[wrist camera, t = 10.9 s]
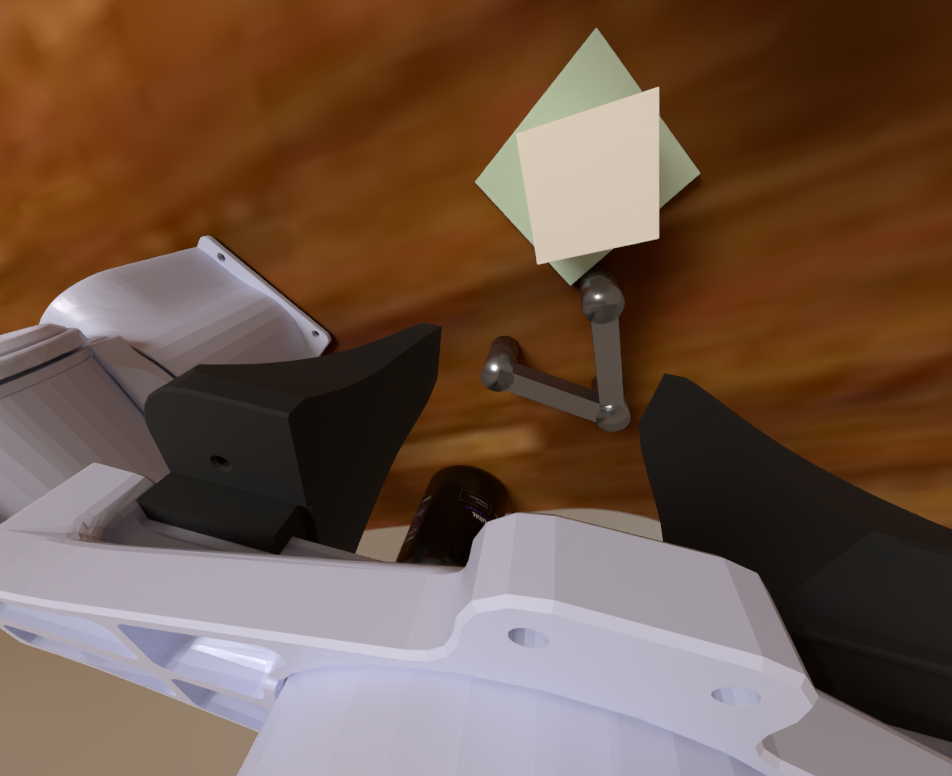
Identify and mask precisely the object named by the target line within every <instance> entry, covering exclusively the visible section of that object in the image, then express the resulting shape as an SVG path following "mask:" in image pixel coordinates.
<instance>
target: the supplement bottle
mask: <svg viewBox="0 0 952 776" xmlns="http://www.w3.org/2000/svg"><path fill="white" fill-rule="evenodd" d="M505 510H506V496H505V493H504V490H503V489H502V487H501V485H500V484H499V483H498V482H497V481H496V480H495V479H494V478H493V477H492V476H491V475H489V474H488V473H486V472H484V471H482V470H480V469H477V468H474V467H470V466H462V465H457V466H450V467H446V468H444V469H442V470H440V471H438V472H437V473H436V474H435V475H434V476H433V477H432V478H431V480H430V482H429V484H428V486H427V488H426V491H425V493H424V495H423V498H422V500H421V502H420V505H419V507H418V509H417V512H416V514H415V516H414V519H413V521H412V524H411V526H410V528H409V531H408V533H407V535H406V538H405V540H404V542H403V545H402V547H401V550H400V552H399V554H398V557H397V559H396V561H395V562H397V563H412V564H428V565H443V566H458V567H466V565H467V563H468V561H469V557H470V552H471V548H472V543H473V540H474V538H475V537H476V536H477V534H478V533H479V532H480V530H481V529H482V528H483V527H484V525H485V524H486V523H487V522H489V521H492V520H495V519H498V518H501V517H504V516H505Z"/></svg>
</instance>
